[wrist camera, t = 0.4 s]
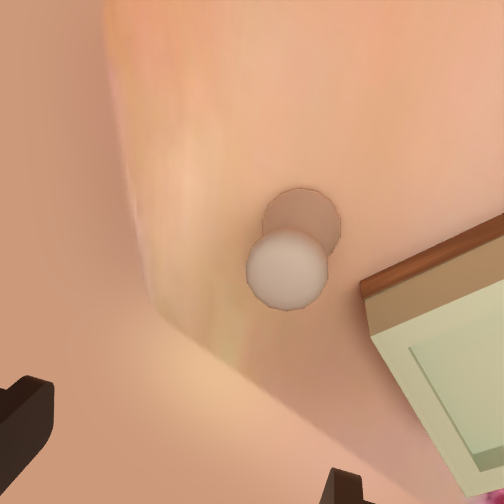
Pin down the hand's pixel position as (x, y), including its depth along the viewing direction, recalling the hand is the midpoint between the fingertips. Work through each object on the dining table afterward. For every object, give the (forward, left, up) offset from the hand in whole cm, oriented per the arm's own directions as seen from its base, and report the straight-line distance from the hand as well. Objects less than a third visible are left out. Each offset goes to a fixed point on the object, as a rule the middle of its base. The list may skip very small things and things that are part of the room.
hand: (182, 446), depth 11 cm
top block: (-13, -10, -20) cm, 26 cm away
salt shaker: (0, -2, -24) cm, 24 cm away
